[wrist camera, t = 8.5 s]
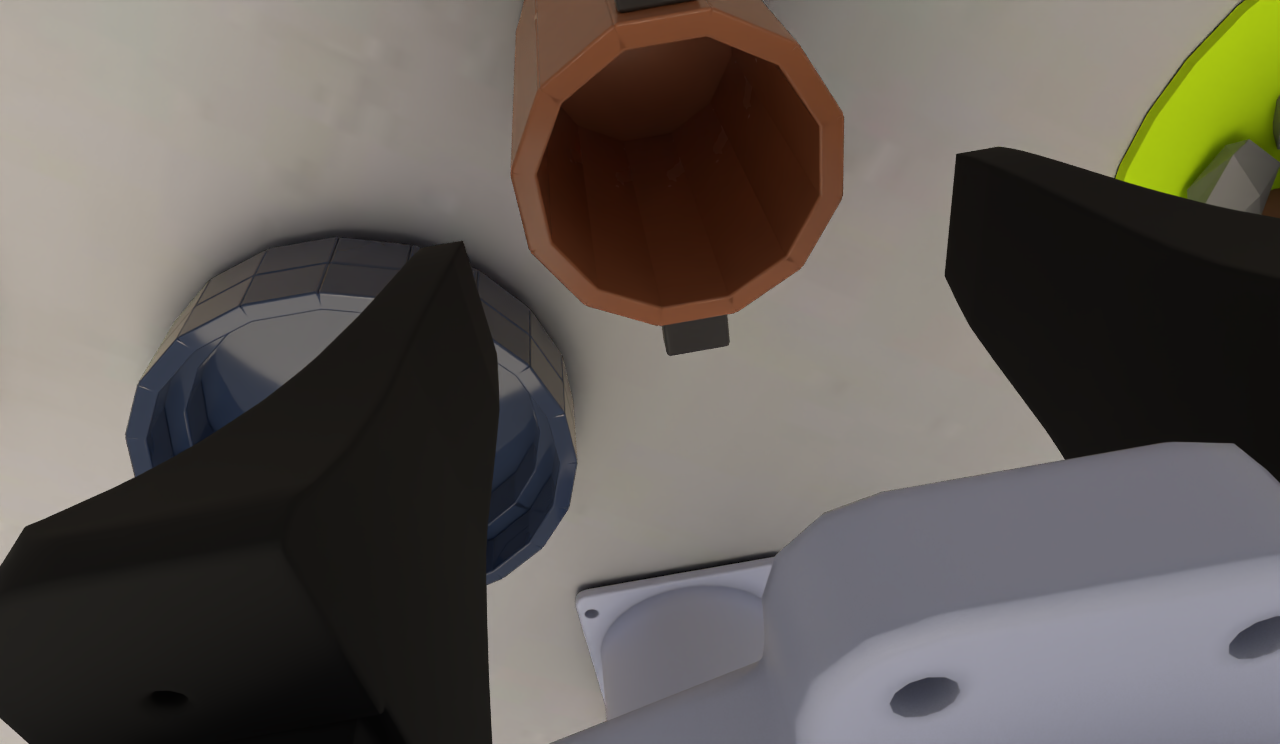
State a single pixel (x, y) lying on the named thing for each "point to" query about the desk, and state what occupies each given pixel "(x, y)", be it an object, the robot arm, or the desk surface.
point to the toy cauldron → (1219, 120)
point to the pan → (306, 324)
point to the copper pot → (670, 156)
